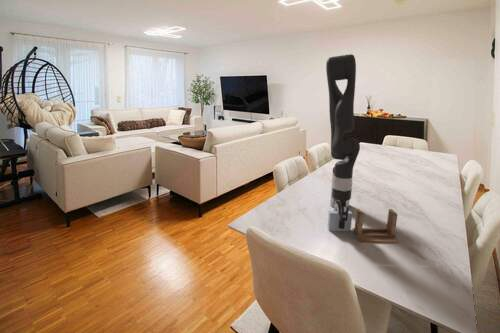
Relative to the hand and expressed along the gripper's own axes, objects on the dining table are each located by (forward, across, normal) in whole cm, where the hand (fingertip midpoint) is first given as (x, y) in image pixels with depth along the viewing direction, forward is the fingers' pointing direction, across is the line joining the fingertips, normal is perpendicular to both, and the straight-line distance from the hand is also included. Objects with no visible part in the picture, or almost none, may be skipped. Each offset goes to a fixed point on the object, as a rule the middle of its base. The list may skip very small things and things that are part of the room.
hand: (339, 223), depth 123 cm
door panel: (+3, 0, 0) cm, 3 cm away
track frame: (+3, +5, +13) cm, 14 cm away
